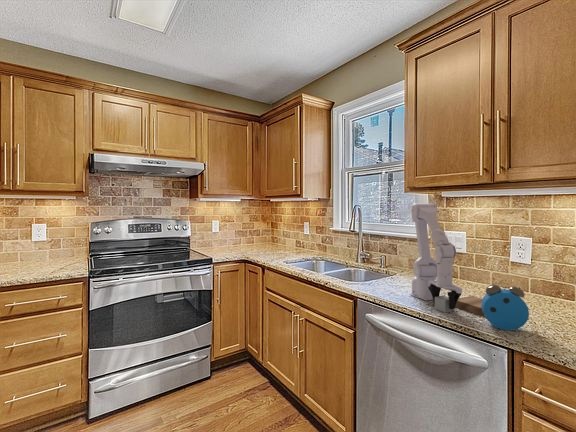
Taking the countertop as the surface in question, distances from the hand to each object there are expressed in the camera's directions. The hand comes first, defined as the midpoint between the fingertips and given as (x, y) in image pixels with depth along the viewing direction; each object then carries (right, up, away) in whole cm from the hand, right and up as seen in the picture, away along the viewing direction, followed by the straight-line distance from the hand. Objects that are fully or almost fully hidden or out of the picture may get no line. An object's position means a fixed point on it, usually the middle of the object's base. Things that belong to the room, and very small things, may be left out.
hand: (444, 306), depth 128 cm
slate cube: (0, -2, 0) cm, 2 cm away
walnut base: (+14, -1, +1) cm, 14 cm away
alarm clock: (+12, -2, -19) cm, 22 cm away
